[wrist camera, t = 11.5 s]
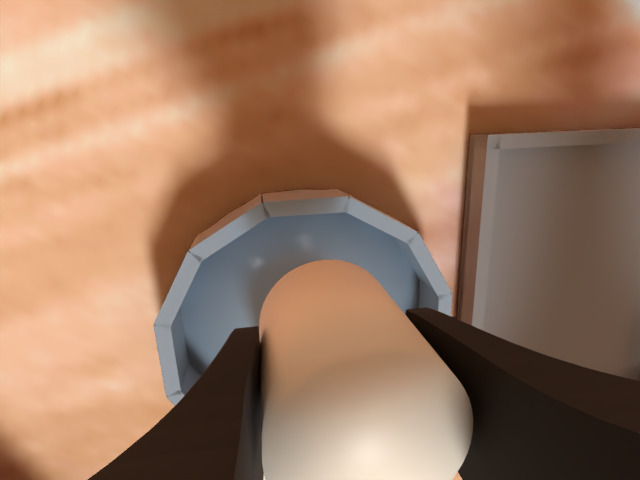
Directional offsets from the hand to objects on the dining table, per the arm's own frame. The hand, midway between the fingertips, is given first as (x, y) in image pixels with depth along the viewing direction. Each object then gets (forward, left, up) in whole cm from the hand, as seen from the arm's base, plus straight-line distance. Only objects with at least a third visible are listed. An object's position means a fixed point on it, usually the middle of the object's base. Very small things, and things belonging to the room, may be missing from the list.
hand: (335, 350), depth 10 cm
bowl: (-3, 0, -8) cm, 8 cm away
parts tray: (-2, -14, -8) cm, 16 cm away
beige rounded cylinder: (0, 0, -1) cm, 1 cm away
